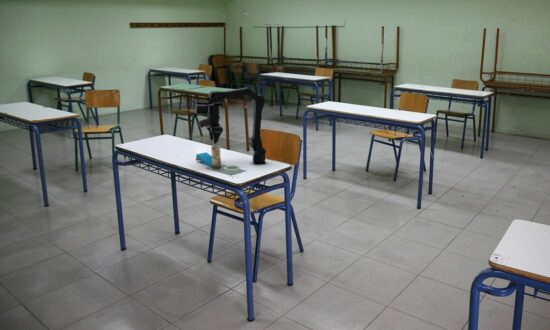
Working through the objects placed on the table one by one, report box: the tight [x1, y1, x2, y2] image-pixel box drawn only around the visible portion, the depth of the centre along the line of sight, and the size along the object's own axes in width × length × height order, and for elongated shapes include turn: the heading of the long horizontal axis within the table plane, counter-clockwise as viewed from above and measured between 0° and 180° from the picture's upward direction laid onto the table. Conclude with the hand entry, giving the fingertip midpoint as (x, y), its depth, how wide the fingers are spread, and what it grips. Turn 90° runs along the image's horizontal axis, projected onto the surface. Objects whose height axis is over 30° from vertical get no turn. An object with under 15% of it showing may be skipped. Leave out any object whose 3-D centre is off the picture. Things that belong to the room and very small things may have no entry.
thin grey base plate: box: [205, 163, 247, 177], centre depth 261 cm, size 22×12×4 cm, turn 47°
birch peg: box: [210, 145, 222, 169], centre depth 263 cm, size 5×5×12 cm
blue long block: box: [195, 152, 212, 167], centre depth 276 cm, size 7×7×18 cm
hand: (213, 141), depth 265 cm, fingers open, 9 cm apart
